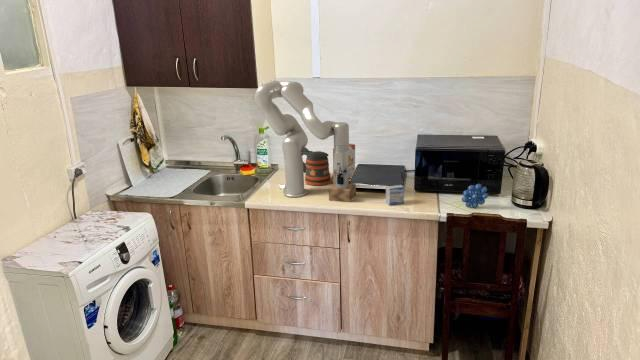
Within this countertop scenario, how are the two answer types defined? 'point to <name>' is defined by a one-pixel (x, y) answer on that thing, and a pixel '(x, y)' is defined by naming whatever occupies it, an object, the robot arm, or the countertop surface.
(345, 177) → the slate box
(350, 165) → the cracker box
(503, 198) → the countertop surface
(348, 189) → the walnut block
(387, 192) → the medicine box
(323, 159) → the beer stein
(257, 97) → the robot arm
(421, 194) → the countertop surface
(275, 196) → the countertop surface
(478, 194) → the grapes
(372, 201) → the countertop surface
